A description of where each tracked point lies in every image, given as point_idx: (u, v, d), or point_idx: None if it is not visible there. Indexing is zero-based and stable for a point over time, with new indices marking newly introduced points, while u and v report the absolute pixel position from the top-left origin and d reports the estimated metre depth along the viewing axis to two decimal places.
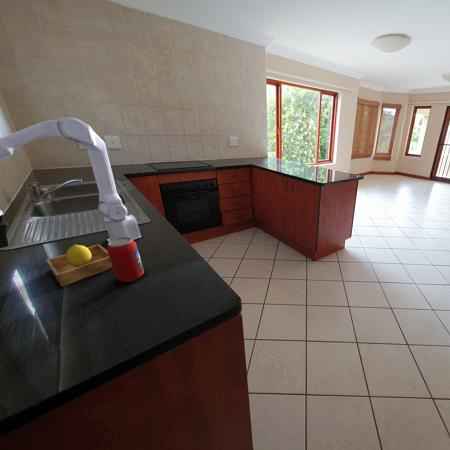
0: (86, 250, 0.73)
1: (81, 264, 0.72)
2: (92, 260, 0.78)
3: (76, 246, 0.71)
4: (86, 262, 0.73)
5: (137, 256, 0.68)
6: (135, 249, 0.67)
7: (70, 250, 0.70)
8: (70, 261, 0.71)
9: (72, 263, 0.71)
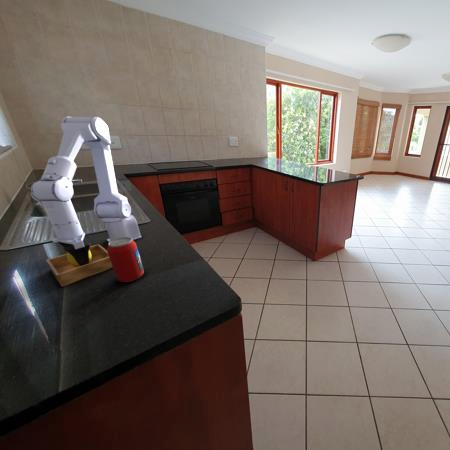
0: None
1: None
2: (92, 260, 0.78)
3: None
4: None
5: (137, 256, 0.68)
6: (135, 249, 0.67)
7: None
8: (70, 261, 0.71)
9: (72, 263, 0.71)
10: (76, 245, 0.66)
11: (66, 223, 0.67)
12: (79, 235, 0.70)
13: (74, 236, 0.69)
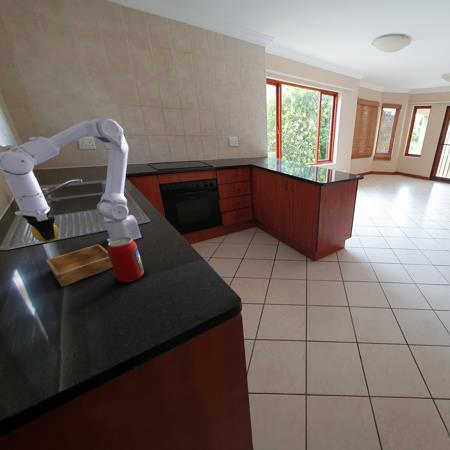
0: None
1: None
2: (92, 260, 0.78)
3: None
4: None
5: (137, 256, 0.68)
6: (135, 249, 0.67)
7: None
8: (35, 235, 0.71)
9: (37, 237, 0.71)
10: (38, 217, 0.66)
11: (29, 195, 0.67)
12: (43, 209, 0.70)
13: (38, 209, 0.69)
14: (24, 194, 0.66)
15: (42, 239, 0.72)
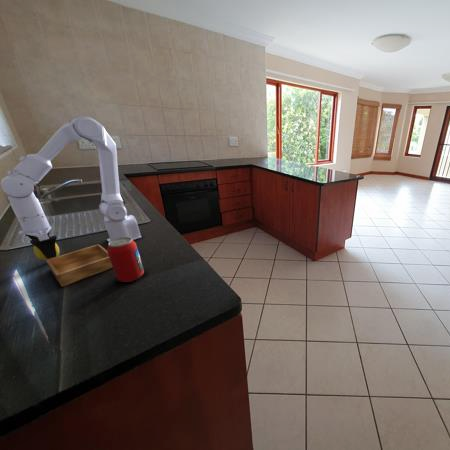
0: None
1: None
2: (92, 260, 0.78)
3: None
4: None
5: (137, 256, 0.68)
6: (135, 249, 0.67)
7: None
8: (37, 254, 0.74)
9: (39, 256, 0.75)
10: (40, 237, 0.70)
11: (31, 216, 0.70)
12: (45, 228, 0.74)
13: (40, 229, 0.72)
14: (24, 215, 0.70)
15: (44, 258, 0.75)
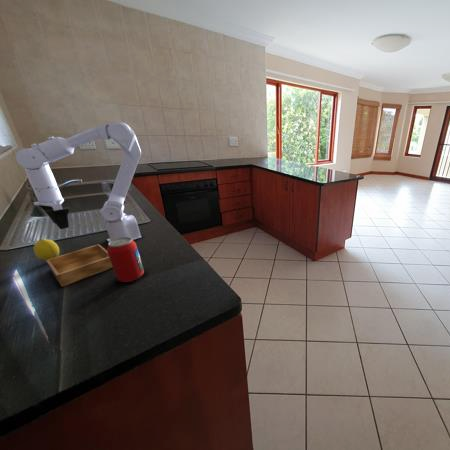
0: (53, 244, 0.77)
1: (48, 257, 0.76)
2: (92, 260, 0.78)
3: (43, 240, 0.75)
4: (53, 255, 0.77)
5: (137, 256, 0.68)
6: (135, 249, 0.67)
7: (37, 244, 0.74)
8: (37, 254, 0.74)
9: (39, 256, 0.75)
10: (54, 207, 0.74)
11: (46, 188, 0.75)
12: (58, 200, 0.78)
13: (53, 200, 0.77)
14: (36, 186, 0.74)
15: (44, 258, 0.75)
